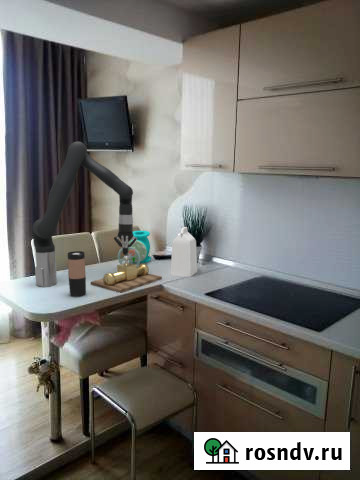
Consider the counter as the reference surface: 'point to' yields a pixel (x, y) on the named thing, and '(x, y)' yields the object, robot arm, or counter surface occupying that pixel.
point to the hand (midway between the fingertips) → (125, 254)
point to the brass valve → (125, 273)
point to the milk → (184, 254)
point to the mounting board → (128, 283)
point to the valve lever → (130, 254)
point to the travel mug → (77, 273)
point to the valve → (139, 248)
